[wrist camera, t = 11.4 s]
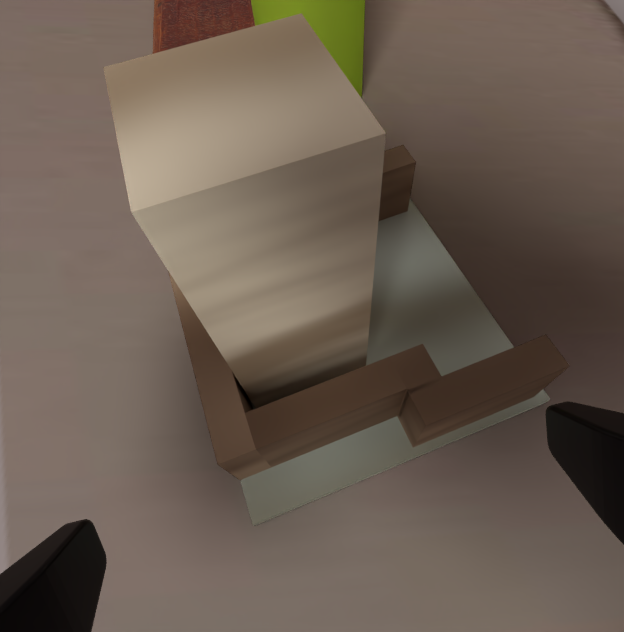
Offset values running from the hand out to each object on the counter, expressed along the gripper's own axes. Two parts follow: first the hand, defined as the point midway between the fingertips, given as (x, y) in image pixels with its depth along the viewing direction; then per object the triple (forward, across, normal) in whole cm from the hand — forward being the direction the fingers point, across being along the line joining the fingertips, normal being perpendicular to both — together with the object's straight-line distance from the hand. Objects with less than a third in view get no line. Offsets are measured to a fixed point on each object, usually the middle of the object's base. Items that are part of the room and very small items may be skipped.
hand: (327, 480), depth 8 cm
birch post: (+10, 0, 0) cm, 10 cm away
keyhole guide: (+10, -2, 0) cm, 11 cm away
